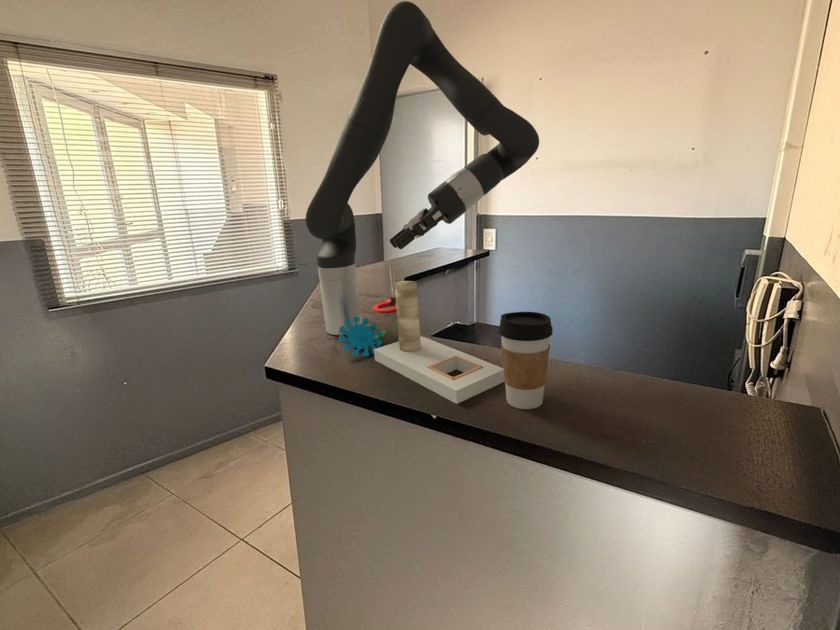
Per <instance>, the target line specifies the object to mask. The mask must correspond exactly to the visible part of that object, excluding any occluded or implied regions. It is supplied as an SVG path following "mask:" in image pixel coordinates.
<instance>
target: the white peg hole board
mask: <svg viewBox="0 0 840 630" xmlns="http://www.w3.org/2000/svg"><path fill="white" fill-rule="evenodd" d="M420 339H421V348H420V349H419V350H417V351H414V352H404V351H401V350H400V345H399V340H397V341H395V342H393V343H389V344H387V345H383V346H380V347H376V348H377V349H374V354H373V355H374V361H375V362H377V363H380V364H381V365H383V366H385V367H386V368H388V369H391V370H392V371H394V372H397V373H398V374H400V375H402V376H403V377H405V378H407V379H409V380H411V381H412V382H415V383H417V384H419V385H420V386H422V387H424V388H426V389H428V390H430V391H432V392H434V393H435V394H438V396H441V397H443V398H445V399H446V400H448V401H450V402H452V403H454V404H456V405H457V404H460V403H461V402H464V401H466V400H468V399H470V398H473V397H475V396H477V395H479V394H481V393H483V392H485V391H487V390H490V389H492V388H494V387H496V386H498V385H500V384H502V383H505V379H504V369H503V367H500V366H499V365H496V364H493V363H490V362H488V361H485V360H483V359H481V358H478V357H476V356H473V355H470V354H468V353H466V352H462V351H461V350H457V349H455V348H453V347H451V346H448V345H445V344H443V343H440V342H437V341H435V340H432V339H430V338H428V337H424V336H422V335H420ZM453 371H459V372H461V373H460V374H458V375H455V376H451V375H449V373H451V372H453Z"/></svg>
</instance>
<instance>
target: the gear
mask: <svg viewBox="0 0 840 630" xmlns="http://www.w3.org/2000/svg"><path fill="white" fill-rule="evenodd" d="M358 321H359V317H354V318H353V322H354V326H353V327H352V326H350V322H351V321H350V320H345V321H344V324H345V325H346V326H347V327H348V329H349V331H346V330H345V327H344V326H341V327H340V329H339V332H341V333H344V334H346V335H339V337H338V341H339V342H340V343H342V342H346V343H344V344H343V349H344V351H345V352H347V351H349V350H350V349H352V348H353V351H352V352H351V354H352V356H354V357H358V355H359V353H360V350H362V349H363V350H364V351H363V352H362V354H361V355H362V357H364V358H368V357H369V355H370V352H371V354H372V355H374V349H377V348H380V347H382V346H381V345H382V344H383V341H382V340H381V339H382V337H384V336H385V334H386V330H385V329H382V330H381V331H375V330H377V328H378V325H377V323H375V322H374V323H372V324H371V325H368V324H369V322H370V320H369V319H368V318H367V317H364V318H363V320H362V322H361V323H362V324H360V325H358V324H357V322H358ZM366 325H368V326H366ZM373 330H374V331H373ZM345 336H346V337H345ZM373 344H375V345H373ZM354 348H356V349H354ZM369 348H371V350H370V352H369Z"/></svg>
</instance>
